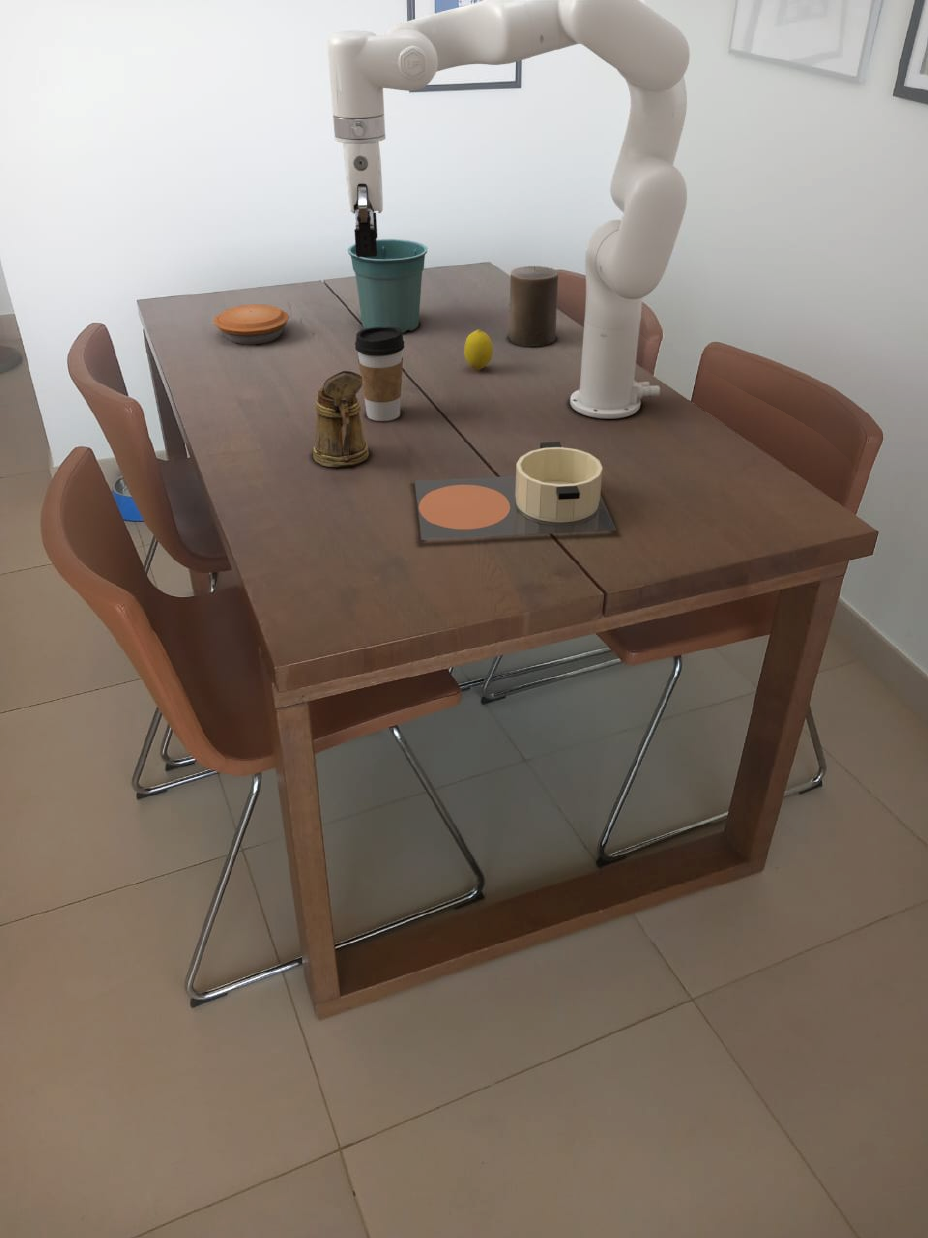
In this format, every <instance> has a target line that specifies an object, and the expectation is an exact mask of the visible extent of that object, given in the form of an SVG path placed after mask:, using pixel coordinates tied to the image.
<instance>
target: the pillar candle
mask: <svg viewBox="0 0 928 1238" xmlns="http://www.w3.org/2000/svg"><path fill="white" fill-rule="evenodd" d="M509 281H510V282H509V283H510V285H509V286H510V287H509V318H508V320H509V321H508V339H509V340H510V342H512V343H514V344H515V345H518V346H522V347H545V346H548V345H551V344H552V343H554V342H555V341H556V331H557V328H556V327H557V310H558V309H557V308H558V307H557V306H558V285H559V283H558V281H559V271H557V270H556V269H555V268H553V267H549V266H541V265H528V266H519V267H518V266H517V267H514V268H513V269H512V270H511V271H510V280H509Z"/></svg>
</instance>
